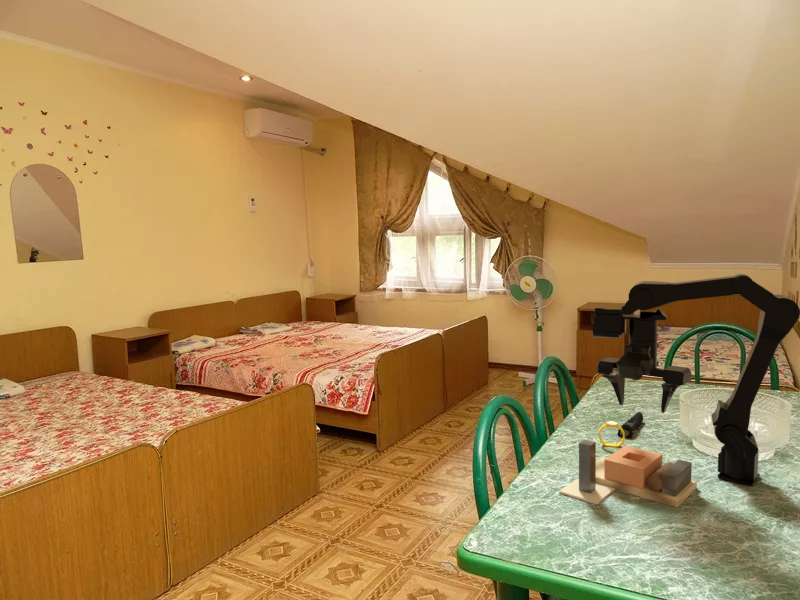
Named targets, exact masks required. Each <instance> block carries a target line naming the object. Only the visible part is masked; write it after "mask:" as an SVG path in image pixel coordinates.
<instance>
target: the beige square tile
mask: <svg viewBox="0 0 800 600" xmlns="http://www.w3.org/2000/svg"><path fill="white" fill-rule="evenodd" d="M615 491H616V490H615V489H614V488H611V487H607V486H604V485H600V484H597V483H596V490H594V491H593V492H592V493H586V492H583V491H580V490H579V477H578V478H576V479H575V480H573V481H572V482H570V483H569V484H567V485H566V486H565V487H563V488H561V489H560V490H559V494H562V495H565V496H568V497H570V498H573V499H576V500H577V499H578V500H581V501H584V502H587V503H590V504H594V505H598V504H600V503H602V501H603V500H605V499H606V498H607V497H609V496H610V495H611V494H612V493H613V492H615Z"/></svg>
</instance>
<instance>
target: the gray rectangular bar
mask: <svg viewBox="0 0 800 600" xmlns="http://www.w3.org/2000/svg"><path fill="white" fill-rule="evenodd" d="M596 446H597V443H596V442H595V441H593V440H588V439H583V440H581V441H579V442H578V478H579V490H580V491H583V492H586V493H592V492H593V491H594V490H596V461H597V460H596V459H597V458H596V457H597V456H596V454H597V451H596Z"/></svg>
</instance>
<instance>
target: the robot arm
mask: <svg viewBox="0 0 800 600" xmlns="http://www.w3.org/2000/svg"><path fill="white" fill-rule="evenodd" d="M628 292H629V293H628V300H626V302H624V303H623V304H622V305H621V308H619V307H618V308H616V307H603V306H596V307H595V308H594V316H593V321H592V336H593V338H604V339H605V338H608V339H621V337H622V336H623V335H626V333H627V320H628V344H626V347H625V352H624V354H623V355H622V356H621V357H620V358H618V357H617V358H616V357H609V356H608V357H605V358H603V359H601V360H599V361H598V362H597V364H596V373H597V374H601V375H602V377H603V378H605V379H607V380H608V381H609V383H610V385H611V386H612V388H613V391H614V393H615V396H616V398H617V401H618V405H619V406H623V405H624V401H625V385H626V384H625V383H626V382H625V381H626V380H625V379H631V380H633V381H640V380H641V379H643V376H650V377H655V378H662V381H664V382H663V383H661V385H660V386H661V388H662V395H661V404H660V406H661V408H660V410H661V411H660V413H661V414H664V413H666V411H667V408H668V406H669V404H670V401H671V400H672V398H673V395H674V394H675V393H676V390H677V389H678V388H679V387H681V386H684V385H687V384H688V383H690V382H691V381H692V370H691V369H690V368H689V367H686V366H677V365H671V366H669V367H666V368H661V367H660V368H658V367H659V364H660V363H659V362H660V361H659V360H657V359H658V349H659V348H660V343H659V342H658V321H666V320H667V319H668V315H667V314H665V312H663V311H662V310H661V308H660V307H662V306H664V305H668V304H670V303H671V304H672V303H675V302H679V301H689V300H698V299H699V300H700V299H707V298H709V299H710V298H716V297H719V298H720V297H727V296H735V295H736V296H741V297H742V298H744V299H745V300H747V301H748V302H749V303H750V304H752V305H754V306H755V307H756V308H758V309H759V310H760V313H759V317H758V324H757V333H756V337H755V338H754V340H753V344H752V346H751V348H750V350H749V353H748V355H747V358H746V360H745V363H744V365H743V367H742V370H741V372H740V374H739V376H738V378H737V381H736V384H735V385H734V388H733V390H732V393H731V395H730V396H729V397H728V398H727V399H726V401H723V400H721V399H718V400H717V404H716V408H715V410H714V412H713V413H711V415H710V416H711V421H712V422H711V423H712V426H713V429H714V430H713V431H714V436H715V437H716V439H717V440H718V442H719V443H722V445H723V446H721V447H720V449H721V450H720V452H718V453H717V472H718V473H719V474H717V478H718V479H721V480H725V481H730V482H732V483H733V482H734V483H737V484H742V485H746V486H749V487H752V486H754V485H755V483H756V482H757V481H758V480H759V478H760V477H761V474H760V473H759V452H760V451H759V447H758V444H757V440H756V438H755V435H754V433H752V432H751V431H750V430H749V427H750V419H751V410H752V406H753V404H754V402H755V399H756V396H757V395H758V393H759V390H760V388H761V385H762V383H763V381H764V379H765V376H766V374H767V372H768V369H769V367H770V364H771V363H772V361H773V358H774V355H775V353H776V351H777V349H778V346H779V345H780V343H781V342H782V341H783V340H784V339H785V338H786V336H787V335H788V334H789V333H790V332H791V331H792V329H793V328H794V327H795V324H796V323H797V321H799V319H800V307H799V305H798V303H796V302H795V301H794V300H793V299H791V298H790V297H789V296H787V295H784V294H780V293H779V294H774V293H773V292H771V291H769V290H768V289H767V288H765V287H763V286H761V285H760V284H759V283H757V282H756V281H754V280H753V279H752V278H751V277H750V276H749V275H747V274H744V273H739V274H735V275H730V276H722V277H721V276H720V277H713V278H712V277H711V278H704V279H697V280H696V279H695V280H687V281H680V282H667V281H655V280H654V281H652V280H651V281H650V280H642V281H639V282H636V283H635V284H634V285H632V287H631V289H630V291H628ZM654 308H656V310H654V311H652V310H651V309H654ZM648 310H649V311H648ZM650 310H651V311H650ZM637 311H640V312H639V314H633V313H635V312H637Z"/></svg>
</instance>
